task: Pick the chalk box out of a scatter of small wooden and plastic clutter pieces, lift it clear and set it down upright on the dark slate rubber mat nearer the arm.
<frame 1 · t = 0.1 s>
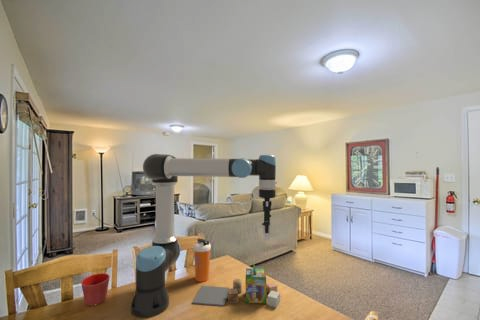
hand: (266, 235, 108), 28 cm above the table, fingers open, 13 cm apart
grey plastic block: (273, 303, 103), on the table
shaker bottle: (202, 279, 124), on the table
mat: (212, 295, 108), on the table
oak cylinder: (237, 291, 112), on the table
flower pot: (95, 301, 104), on the table
chalk box: (255, 298, 107), on the table
terracotta cube: (271, 293, 111), on the table
walnut block: (232, 300, 105), on the table
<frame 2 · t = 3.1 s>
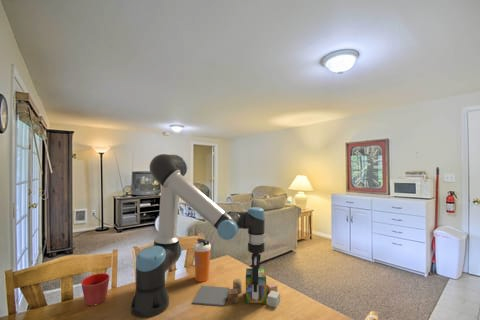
hand: (255, 292, 107), 3 cm above the table, fingers closed on chalk box, 9 cm apart
chalk box: (255, 298, 107), on the table, touching gripper
everything else where it was.
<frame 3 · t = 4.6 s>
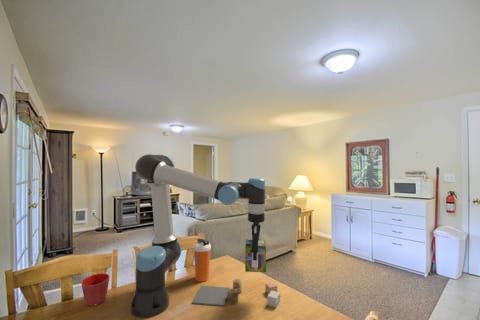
hand: (255, 262, 107), 16 cm above the table, fingers closed on chalk box, 9 cm apart
chalk box: (255, 268, 107), point 13 cm above the table, touching gripper
everything else where it was.
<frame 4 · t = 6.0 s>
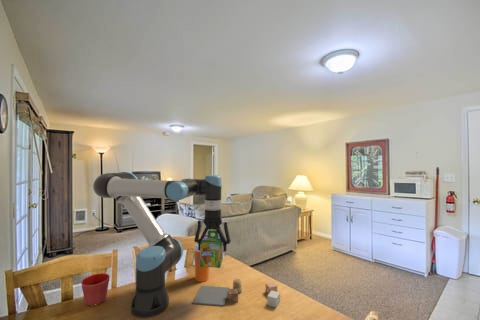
hand: (212, 257, 109), 17 cm above the table, fingers closed on chalk box, 9 cm apart
chalk box: (212, 263, 108), point 15 cm above the table, touching gripper
everything else where it was.
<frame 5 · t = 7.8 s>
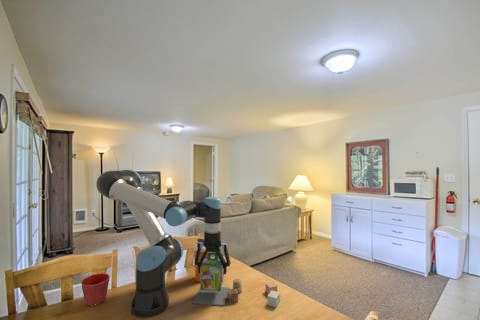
hand: (212, 280, 108), 7 cm above the table, fingers closed on chalk box, 9 cm apart
chalk box: (212, 286, 108), point 4 cm above the table, touching gripper
everything else where it was.
when the fingers open (4 cm above the table, at t = 9.3 s): chalk box drops 1 cm, resting on mat.
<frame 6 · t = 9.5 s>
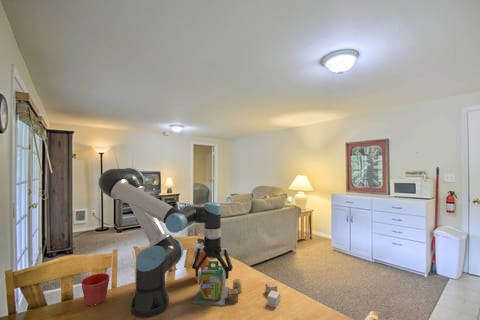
hand: (212, 284, 108), 5 cm above the table, fingers open, 11 cm apart
chalk box: (212, 295, 108), resting on mat
everything else where it was.
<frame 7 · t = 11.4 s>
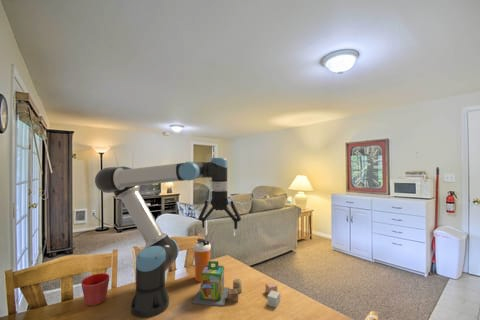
hand: (219, 235, 112), 27 cm above the table, fingers open, 13 cm apart
nothing on the table moved.
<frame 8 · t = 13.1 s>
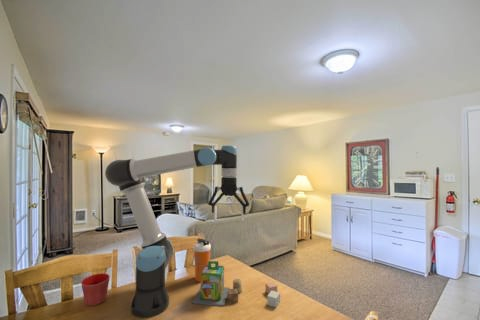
hand: (228, 219, 117), 33 cm above the table, fingers open, 13 cm apart
nothing on the table moved.
at the end: chalk box inside the target area on the mat (0.3 cm from its centre), point 0.4 cm above the mat's base; chalk box tilted 0°; the gripper is holding nothing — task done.
